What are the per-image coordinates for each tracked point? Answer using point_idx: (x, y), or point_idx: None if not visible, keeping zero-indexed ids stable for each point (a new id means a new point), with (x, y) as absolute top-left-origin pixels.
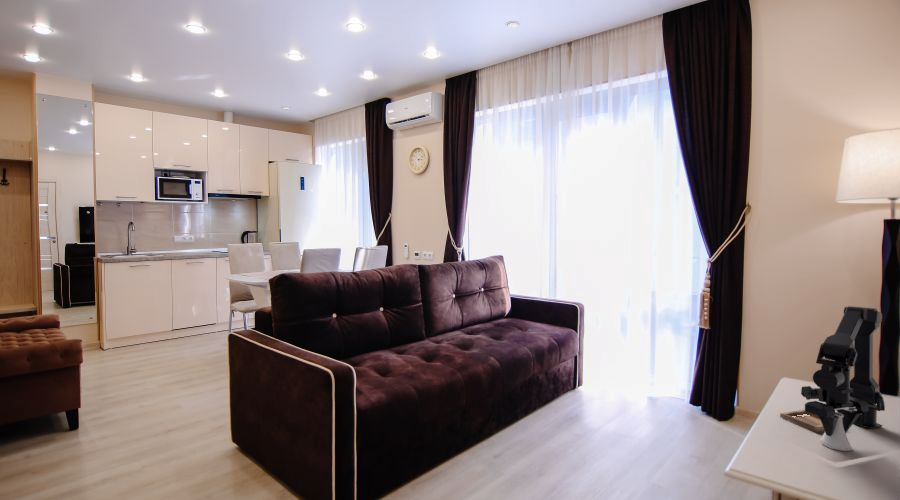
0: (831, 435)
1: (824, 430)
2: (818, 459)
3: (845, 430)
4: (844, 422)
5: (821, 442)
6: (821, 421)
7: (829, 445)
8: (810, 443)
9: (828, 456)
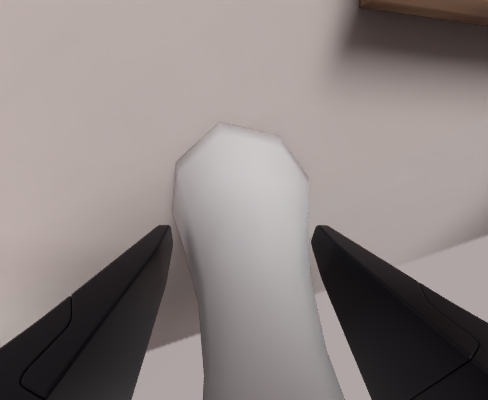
0: (185, 241)
1: (449, 14)
2: (2, 251)
3: (320, 266)
4: (366, 316)
5: (192, 148)
6: (24, 335)
7: (173, 206)
8: (120, 118)
9: (85, 244)
